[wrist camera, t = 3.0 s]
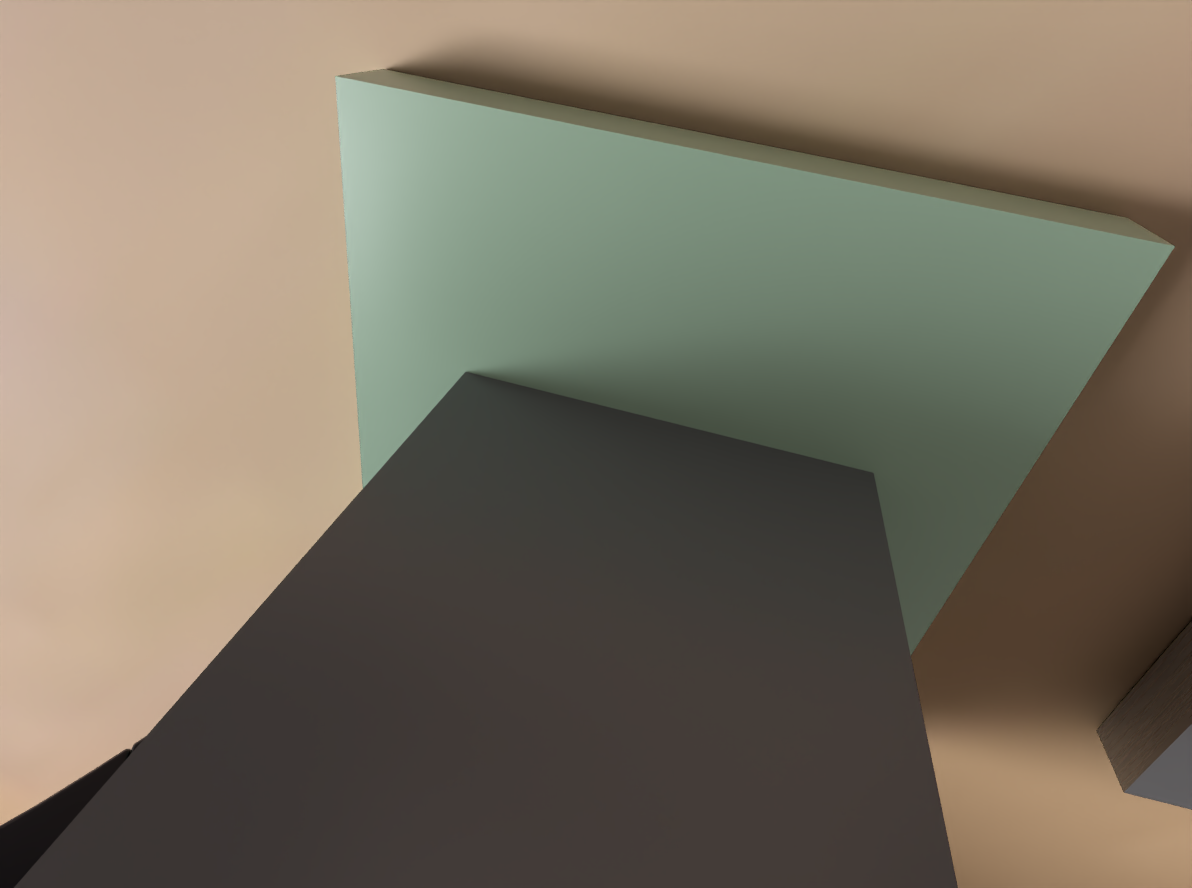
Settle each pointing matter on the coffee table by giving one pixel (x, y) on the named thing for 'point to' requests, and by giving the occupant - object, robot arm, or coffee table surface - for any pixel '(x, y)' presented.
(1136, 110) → the coffee table surface
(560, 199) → the board
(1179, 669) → the chassis
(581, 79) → the coffee table surface
